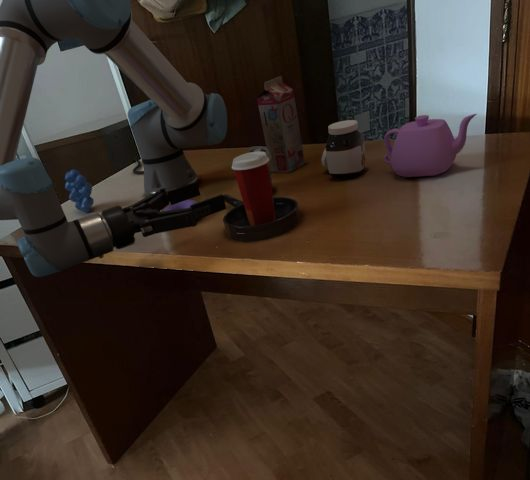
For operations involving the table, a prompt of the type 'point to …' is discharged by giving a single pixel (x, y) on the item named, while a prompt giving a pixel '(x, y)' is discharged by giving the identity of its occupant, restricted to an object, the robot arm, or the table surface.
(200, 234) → the table surface
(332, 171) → the spread jar
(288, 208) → the pan
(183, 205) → the donut
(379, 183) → the table surface
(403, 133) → the teapot
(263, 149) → the food container
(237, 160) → the paper cup
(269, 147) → the juice carton
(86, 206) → the grapes
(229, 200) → the pan handle
